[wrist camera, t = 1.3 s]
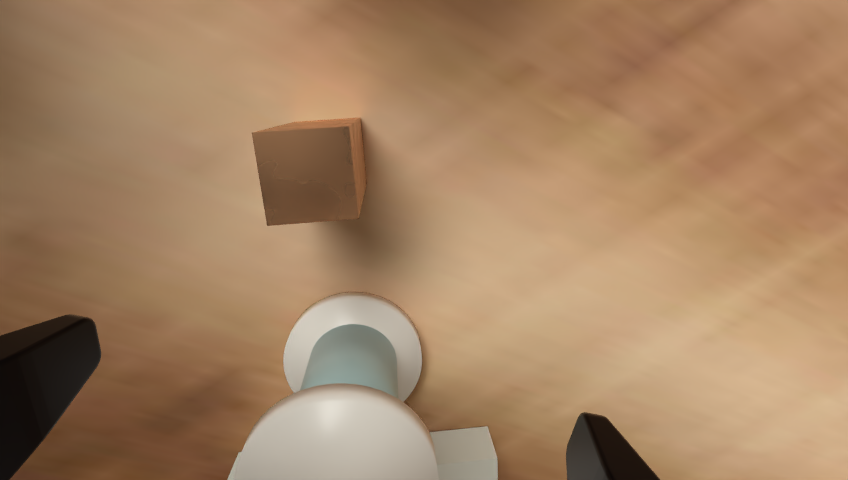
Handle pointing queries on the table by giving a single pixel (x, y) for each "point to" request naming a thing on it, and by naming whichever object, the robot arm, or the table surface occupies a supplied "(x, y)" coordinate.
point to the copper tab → (311, 171)
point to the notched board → (457, 455)
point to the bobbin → (345, 399)
